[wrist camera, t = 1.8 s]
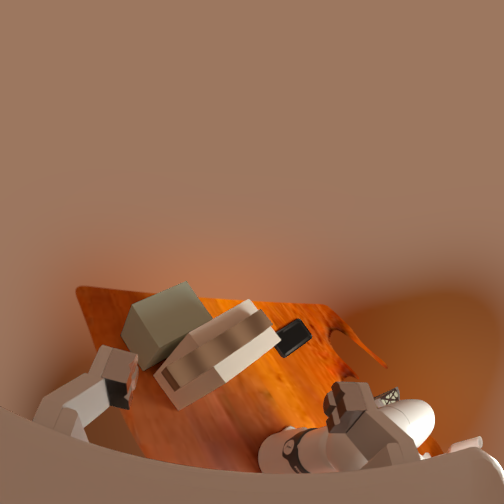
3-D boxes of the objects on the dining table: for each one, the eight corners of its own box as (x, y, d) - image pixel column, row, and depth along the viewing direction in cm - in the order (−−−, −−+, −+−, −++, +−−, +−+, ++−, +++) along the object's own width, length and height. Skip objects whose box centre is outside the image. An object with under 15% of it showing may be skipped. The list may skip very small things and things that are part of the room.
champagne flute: (431, 467, 84) (484, 450, 68) (422, 467, 82) (477, 450, 67) (431, 452, 89) (482, 434, 73) (422, 452, 87) (476, 433, 72)
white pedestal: (178, 410, 63) (225, 382, 46) (153, 375, 66) (188, 332, 49) (223, 379, 74) (281, 340, 57) (200, 347, 77) (249, 298, 60)
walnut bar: (174, 391, 42) (180, 387, 40) (160, 372, 42) (166, 366, 40) (264, 331, 57) (272, 324, 55) (252, 316, 57) (260, 308, 56)
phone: (313, 337, 97) (284, 358, 86) (311, 338, 98) (282, 359, 87) (299, 317, 99) (269, 336, 89) (297, 318, 100) (267, 337, 90)
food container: (362, 423, 85) (386, 415, 78) (355, 407, 88) (378, 398, 81) (382, 410, 92) (405, 401, 85) (376, 396, 95) (398, 386, 88)
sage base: (143, 371, 65) (159, 347, 55) (120, 335, 68) (131, 304, 57) (188, 345, 75) (212, 318, 65) (166, 313, 78) (186, 281, 67)
